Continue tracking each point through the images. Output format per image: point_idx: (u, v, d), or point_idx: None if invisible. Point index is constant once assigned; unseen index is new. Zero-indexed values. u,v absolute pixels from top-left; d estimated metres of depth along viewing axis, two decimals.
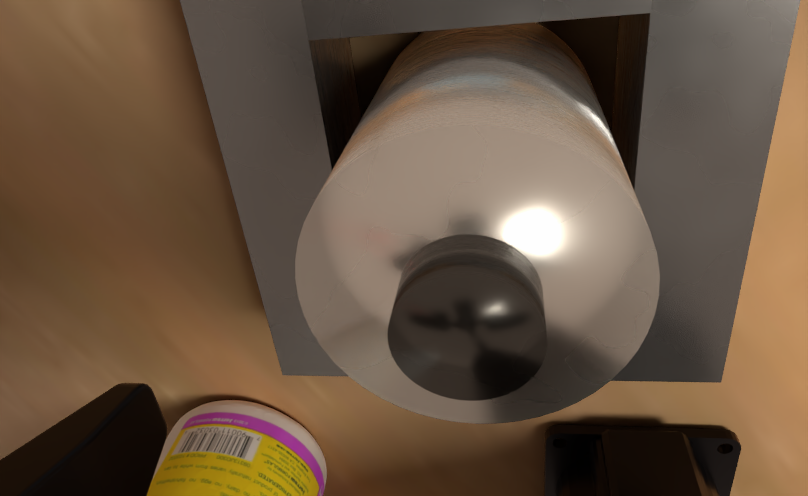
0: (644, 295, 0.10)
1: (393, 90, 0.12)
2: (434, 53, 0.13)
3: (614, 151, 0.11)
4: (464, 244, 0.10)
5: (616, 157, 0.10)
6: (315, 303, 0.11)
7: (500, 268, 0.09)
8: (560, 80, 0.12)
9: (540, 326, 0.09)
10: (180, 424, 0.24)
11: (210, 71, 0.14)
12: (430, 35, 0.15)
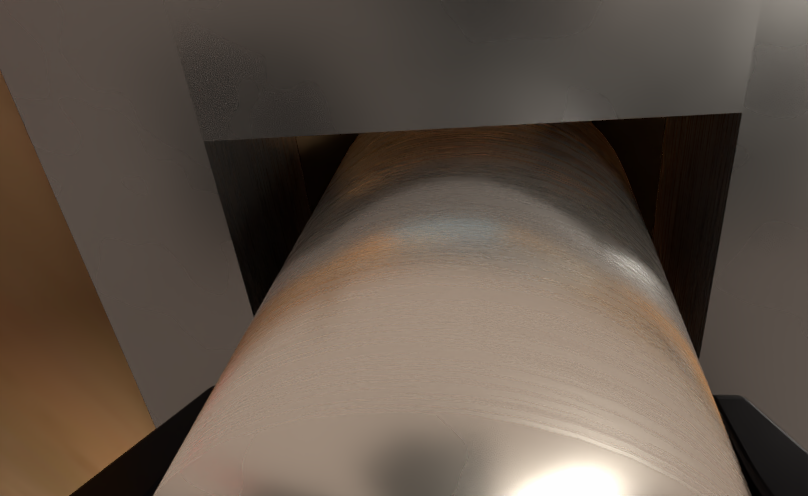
0: None
1: (325, 236, 0.07)
2: (397, 162, 0.08)
3: (695, 369, 0.06)
4: None
5: (702, 391, 0.06)
6: None
7: None
8: (595, 224, 0.07)
9: None
10: None
11: (64, 180, 0.09)
12: None
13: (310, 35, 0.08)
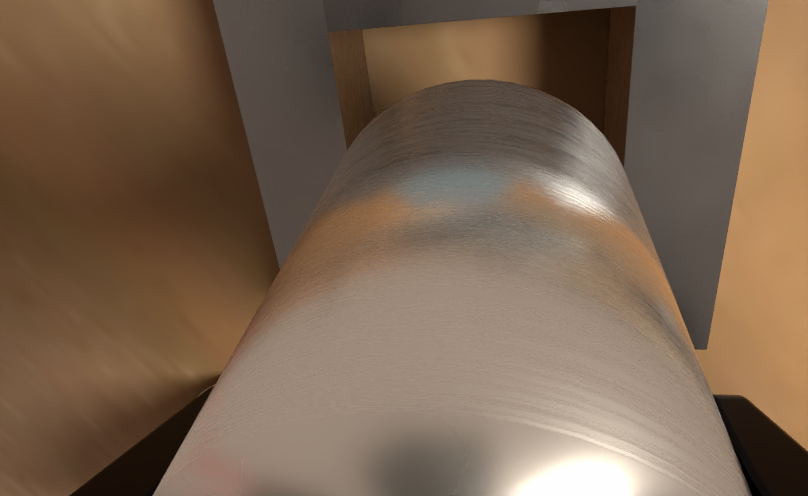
0: None
1: (325, 235, 0.07)
2: (396, 162, 0.08)
3: (695, 369, 0.06)
4: None
5: (702, 390, 0.06)
6: None
7: None
8: (595, 223, 0.07)
9: None
10: None
11: (237, 60, 0.15)
12: (398, 116, 0.10)
13: None
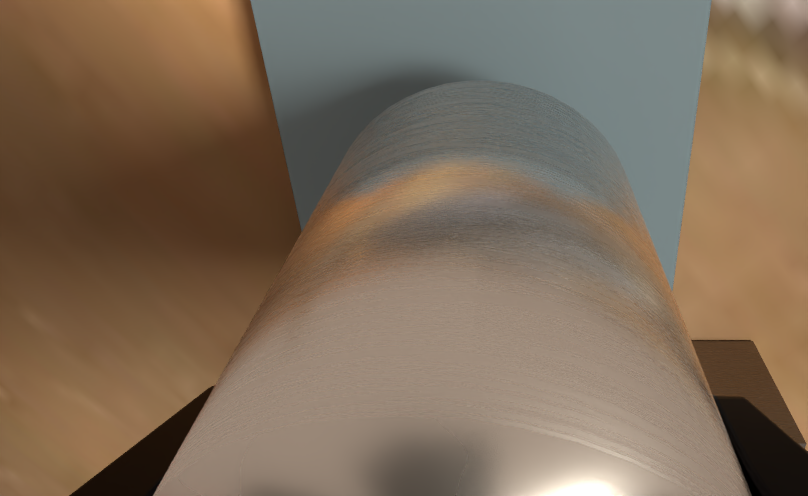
0: None
1: (324, 237, 0.07)
2: (396, 163, 0.08)
3: (696, 372, 0.06)
4: None
5: (703, 393, 0.06)
6: None
7: None
8: (596, 225, 0.07)
9: None
10: None
11: None
12: (398, 117, 0.10)
13: None
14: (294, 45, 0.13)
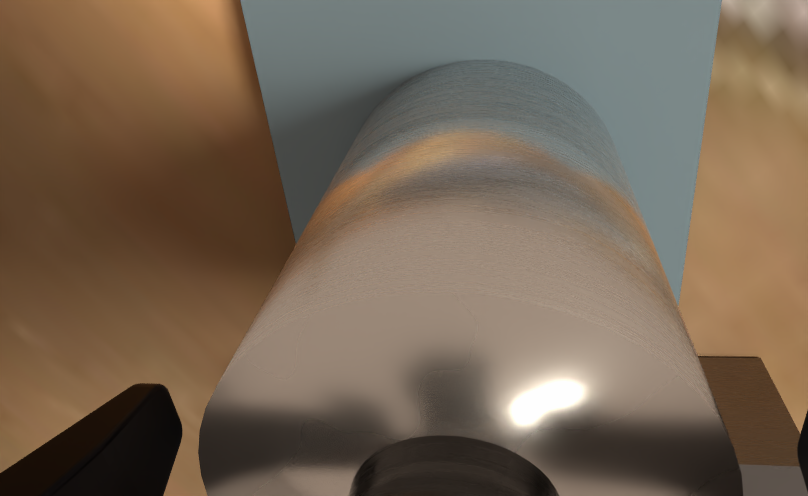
0: None
1: (351, 185, 0.09)
2: (411, 126, 0.10)
3: (664, 288, 0.07)
4: (444, 459, 0.06)
5: (669, 302, 0.07)
6: None
7: None
8: (583, 173, 0.08)
9: None
10: None
11: None
12: (410, 91, 0.12)
13: None
14: (287, 55, 0.13)
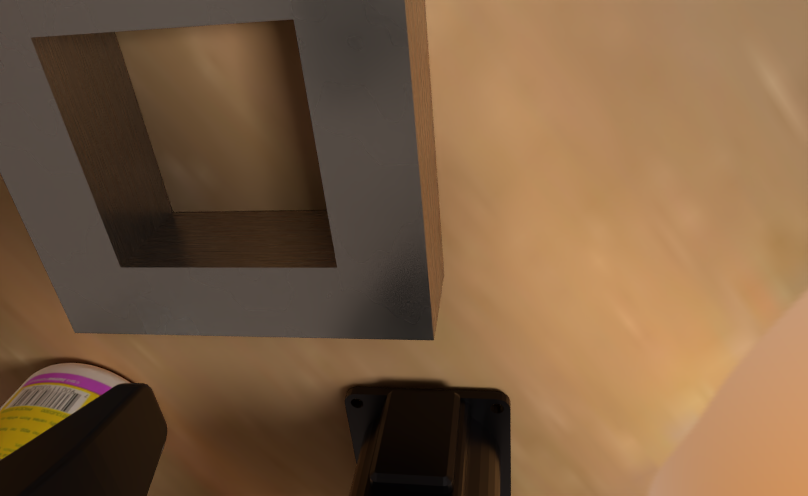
0: None
1: None
2: None
3: None
4: None
5: None
6: None
7: None
8: None
9: None
10: (23, 383, 0.26)
11: None
12: None
13: None
14: None
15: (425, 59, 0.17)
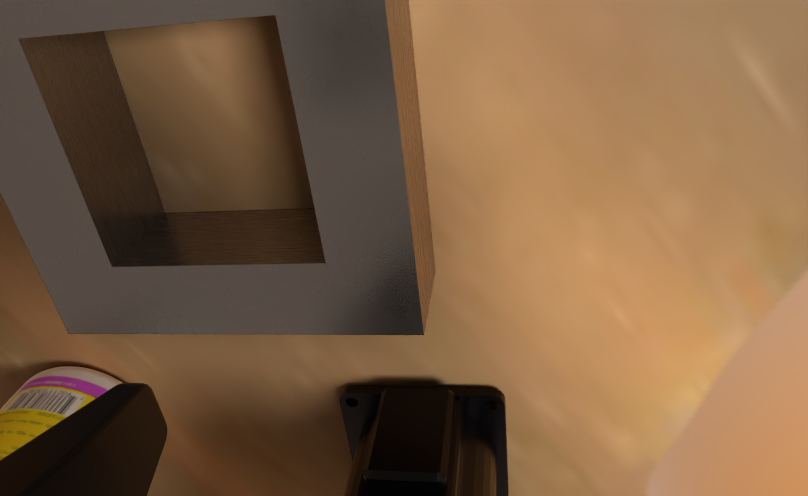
0: None
1: None
2: None
3: None
4: None
5: None
6: None
7: None
8: None
9: None
10: None
11: None
12: None
13: None
14: None
15: (409, 54, 0.17)
